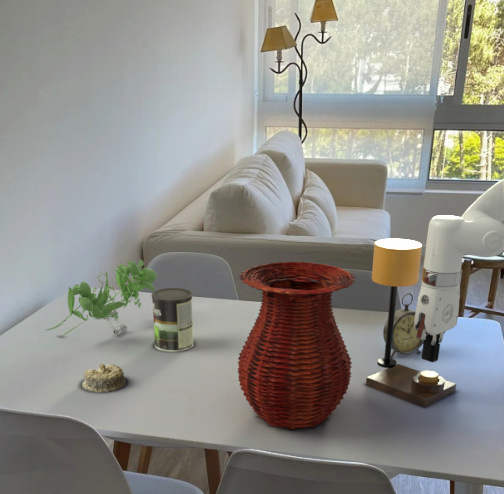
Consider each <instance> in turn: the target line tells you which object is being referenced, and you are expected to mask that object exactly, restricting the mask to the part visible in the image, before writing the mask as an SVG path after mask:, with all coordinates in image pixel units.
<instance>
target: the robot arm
mask: <svg viewBox="0 0 504 494" xmlns="http://www.w3.org/2000/svg"><path fill="white" fill-rule="evenodd" d="M503 221H504V178H502V179H500V180H499V181H497V182H496V183H494V184H493V185H492V186H491V187H489V188H488V189H487V190H485V191H484V192H483V193H482V194H481V195H480V196H479V197H478V198H477V199H476V200H475V201H474V202H473V203H472V204H471V205H470V206H469V207H468V208H467V209H466V210H465V211H464V212H463V214H462V215H461V216H456V215H448V214H447V215H446V214H445V215H435V216H433V217H432V218H431V219H430V220H429V222H428V227H427V228H428V229H427V235H426V243H425V252H424V259H423V268H422V274H421V275H422V276H421V287H420V290H419V293H418V298H417V303H416V308H415V311H416V313H415V320H414V328H415V330H417V331H418V332H417V336H416V338H418V339H421V340H422V342H423V344H422V349H421V359H422V360H424V361H426V362H430V363H435V362H437V361H439V355H440V348H441V343H442V342H443V340H444V339H443V338H444V334H446V332H447V331H450V330H452V329H454V328H455V327H456V326H457V325H458V320H459V310H460V297H461V288H460V287H461V286H460V278H461V271H462V265H463V259H464V255H467V256H474V257H478V258H494V257H497V256H498V255H501V254H502V253H503V252H504V223H502V222H503Z"/></svg>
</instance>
